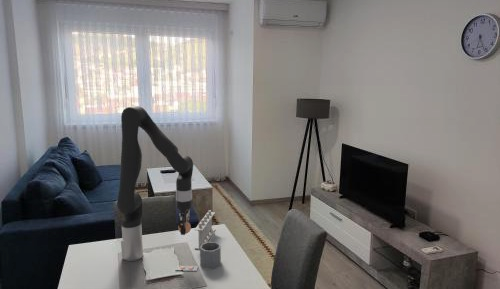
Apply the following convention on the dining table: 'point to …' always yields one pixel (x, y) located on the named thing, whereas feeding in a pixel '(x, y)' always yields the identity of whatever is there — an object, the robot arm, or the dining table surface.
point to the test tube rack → (205, 229)
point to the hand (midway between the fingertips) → (184, 231)
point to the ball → (188, 227)
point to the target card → (189, 268)
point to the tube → (210, 255)
